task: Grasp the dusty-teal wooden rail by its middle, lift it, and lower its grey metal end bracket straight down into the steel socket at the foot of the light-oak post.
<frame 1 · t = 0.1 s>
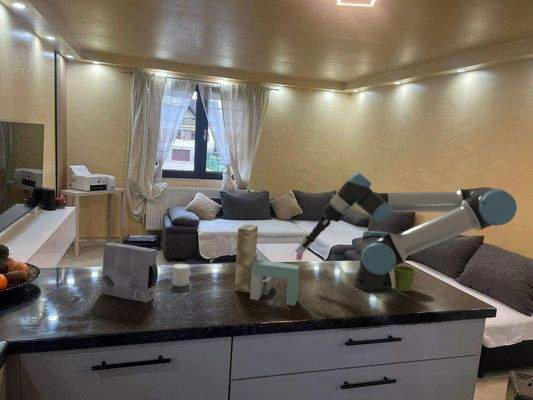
hand: (300, 249, 152), 15 cm above the counter, tool tilted 35°, fingers open, 13 cm apart
plant pot: (402, 289, 159), on the counter
rail: (273, 299, 139), on the counter
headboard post: (260, 289, 148), on the counter
supplement bottle: (248, 276, 164), on the counter
cake pan box: (129, 297, 133), on the counter
white cylinder: (180, 284, 149), on the counter
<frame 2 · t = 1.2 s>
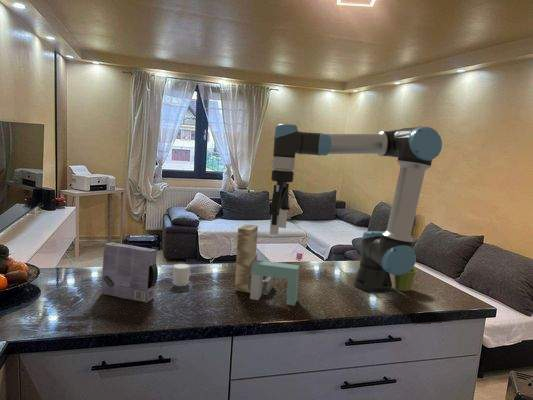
hand: (278, 230, 136), 25 cm above the counter, tool pointing down, fingers open, 13 cm apart
nothing on the counter moved.
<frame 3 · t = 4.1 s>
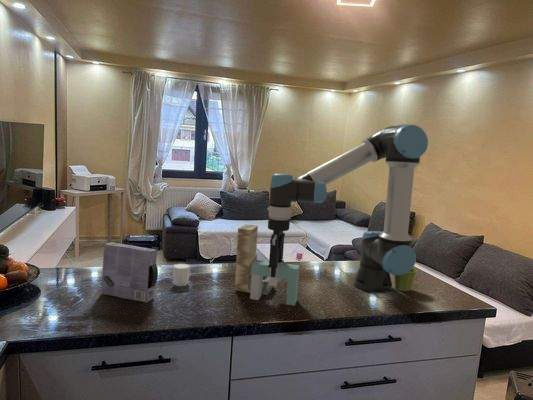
hand: (274, 282, 138), 6 cm above the counter, tool pointing down, fingers closed on rail, 5 cm apart
rail: (273, 299, 139), on the counter, touching gripper
everything else where it was.
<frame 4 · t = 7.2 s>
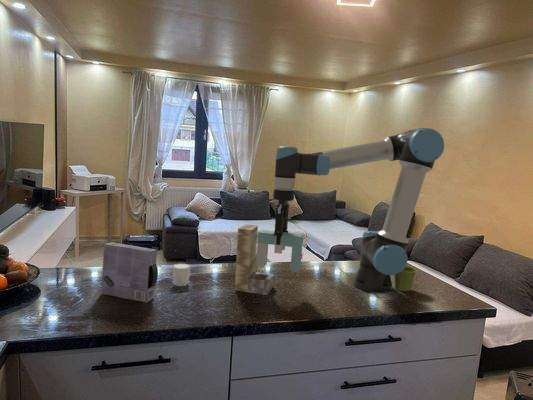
hand: (279, 251, 145), 16 cm above the counter, tool pointing down, fingers closed on rail, 5 cm apart
rail: (278, 267, 146), point 9 cm above the counter, touching gripper
everything else where it was.
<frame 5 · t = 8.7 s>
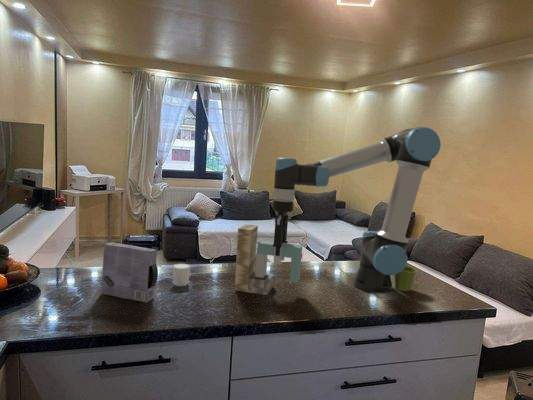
hand: (278, 261, 145), 12 cm above the counter, tool pointing down, fingers closed on rail, 5 cm apart
rail: (277, 277, 146), point 5 cm above the counter, touching gripper
everything else where it was.
when the fingers open (7 cm above the counter, at t = 10.3 s): rail stays where it is, on the counter.
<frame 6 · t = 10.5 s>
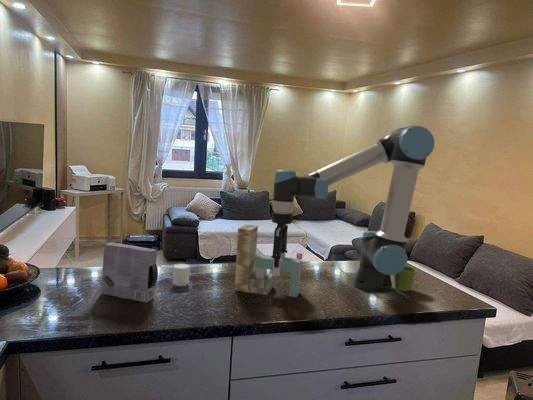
hand: (278, 272, 146), 8 cm above the counter, tool pointing down, fingers open, 7 cm apart
rail: (277, 291, 147), on the counter
everything else where it was.
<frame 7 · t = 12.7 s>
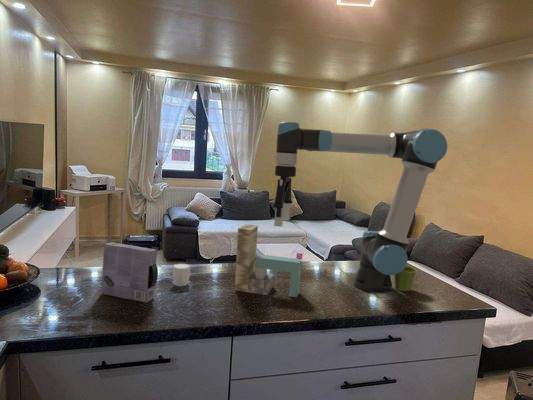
hand: (282, 223, 144), 26 cm above the counter, tool pointing down, fingers open, 13 cm apart
nothing on the counter moved.
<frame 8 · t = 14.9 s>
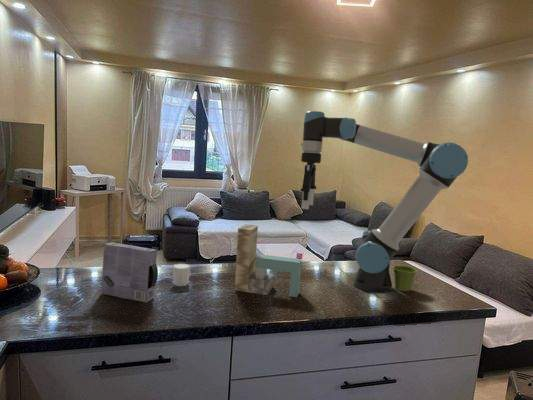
hand: (307, 206, 153), 32 cm above the counter, tool pointing down, fingers open, 13 cm apart
nothing on the counter moved.
at the end: rail 0.0 cm from the target spot on the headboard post, point 0.0 cm above the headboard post's base; rail tilted 0°; the gripper is holding nothing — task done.
